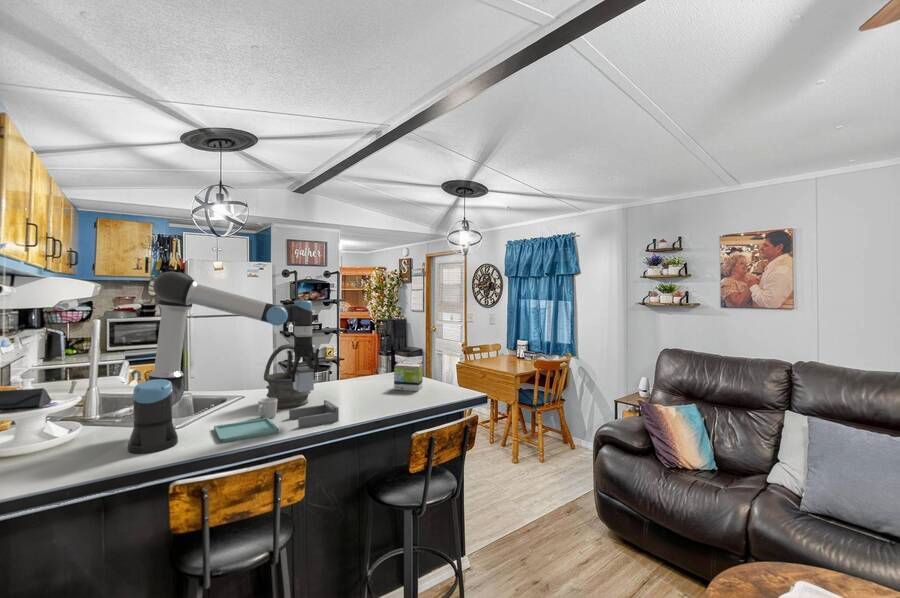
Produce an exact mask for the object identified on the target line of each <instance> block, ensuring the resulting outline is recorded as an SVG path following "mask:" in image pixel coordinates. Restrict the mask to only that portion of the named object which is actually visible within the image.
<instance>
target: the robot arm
mask: <svg viewBox="0 0 900 598" xmlns="http://www.w3.org/2000/svg"><path fill="white" fill-rule="evenodd" d="M152 289H153V290H152V291H153V293H154V294H155V295H156V297H157V298H158V300H157V306H158V307H160V309H161V313H160V321H159V329H158V335H157V344H156V353H155V360H154V368H153V370H152V371H151V372H149V373H148V379H147V380H146V381H142V382H140V383H138V384H136V385H135V386H134V389H133V393H132V398H133V399H132V400H133V429H132V432H131V434H130V437H129V440H128V443H127V451H128V453H132V454H148V453H156V452H160V451H164V450H167V449H169V448H172V447H174V446H176V445H178V443H179V438H178V437H179V436H178V434H177V431H176V429H175V426H174V423H173V406H174V405H176V404H177V403H178V402H179V401H180V400H181V399H182V397H183V396H184V393H185V384H184V375H185V374H184V373H183V371H181V363H182V354H183V346H184V340H185V339H184V338H185V330H186V322H187V315H188V311H189V310H190V309H192V308H193V305H196V306H201V307H204V308H209V309H213V310H217V311H220V312H225V313H229V314H233V315H236V316H240V317H245V318H249V319H252V320H257V321H260V322H263V323H264V322H265V323H267V324H270V325H272V326H282V325H283V324H285V323H293V325H294V326H293V327H294V330H293V333H294V334H293V335H294V338H293V342H294V343H293V345H294V348H293V349H286V354H287V360H286V361H287V362H286V365H287V366H286V372H287V373H289V374H291V381H292V382H294V389H295V390H297V374H295V373H296V370H297V367H299V363H300V361H301V359H302V358H303V357H306V358H307V361H308V364H309V367H310V368H312V369H314V380H316V372H319V371H320V362H319V361H320V359H319V353H320V349H319V348H317V347H314V346H313V336H312V335H313V313H314V311H313V302H312V301H311V300H294V304H272V303H269V302H265V301H261V300H258V299H254V298H251V297H246V296H243V295H240V294H236V293H232V292H228V291H225V290H221V289H218V288H213V287H211V286H205V285H202V284H199V283H198V281H197V280H195V279H194V278H192V276H190V275H189V274H187V273H184V272H176V271H165V272H163V273H161V274H159V275H157V277H155V279H154V281H153V283H152ZM312 352H313V359H314V362H313V360H312V356H311V354H312ZM293 354H295V356H294V358H295V359H294V362H293ZM292 363H293V364H292ZM313 363H314V364H313Z"/></svg>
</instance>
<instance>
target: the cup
mask: <svg viewBox="0 0 900 598" xmlns="http://www.w3.org/2000/svg"><path fill="white" fill-rule="evenodd" d="M277 401H278V400H277V398H268V397H266V398H264V397H263V398H261V399H259V400H258V407H257V411H256V412H257V415H258V416H259V417H260V419H263V418H269V419H273V418H275V417H276V415H277V409H278V408H277Z"/></svg>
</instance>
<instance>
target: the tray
mask: <svg viewBox="0 0 900 598" xmlns="http://www.w3.org/2000/svg"><path fill="white" fill-rule="evenodd" d="M213 431H214V433H215V435H216V437H217V439H218V442H219V443H220V444H224V443H230V442H235V441H241V440H246V439H251V438H259V437H264V436H269V435H275V434H279V433H280V429H279V428H278V427H277V425H275V423H274V422H273V421H272V420H271V418H258V419H257V418H256V419H251V420H244V421H238V422H232V423H225V424H219V425H214V426H213Z"/></svg>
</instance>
